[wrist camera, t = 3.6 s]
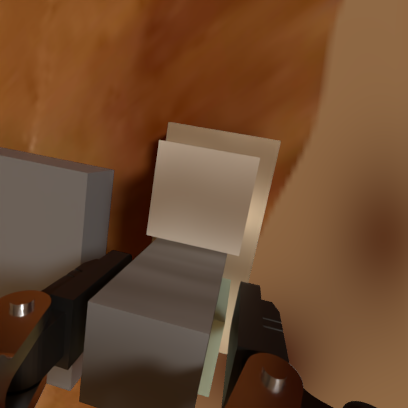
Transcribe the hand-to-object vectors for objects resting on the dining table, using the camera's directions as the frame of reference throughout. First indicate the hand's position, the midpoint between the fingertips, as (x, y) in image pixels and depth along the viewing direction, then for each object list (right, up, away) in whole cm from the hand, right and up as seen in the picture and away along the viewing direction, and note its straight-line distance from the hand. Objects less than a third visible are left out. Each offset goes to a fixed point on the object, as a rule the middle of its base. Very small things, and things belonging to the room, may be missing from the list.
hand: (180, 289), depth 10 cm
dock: (-11, -1, +10) cm, 15 cm away
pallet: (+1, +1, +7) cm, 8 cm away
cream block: (+1, +4, +4) cm, 6 cm away
